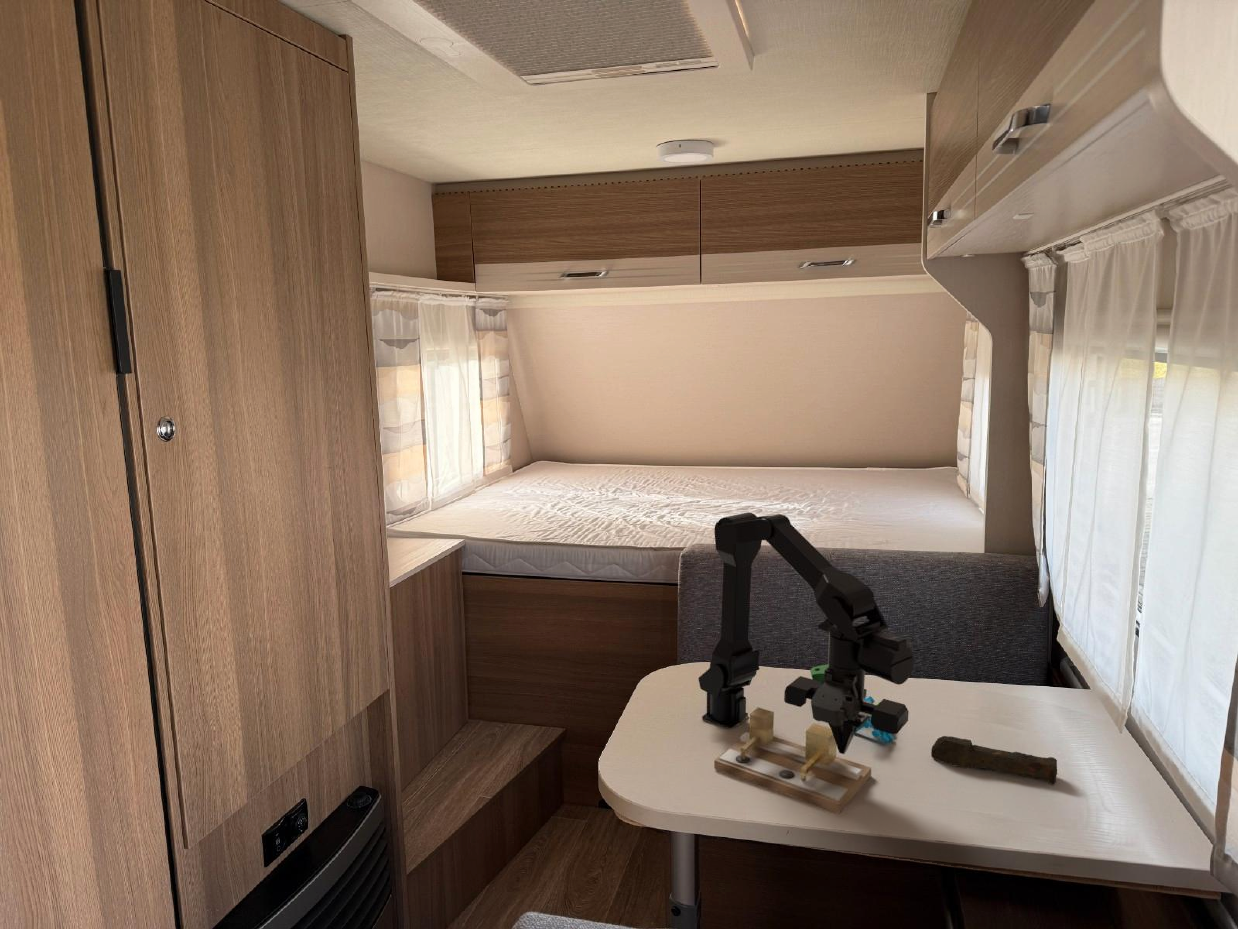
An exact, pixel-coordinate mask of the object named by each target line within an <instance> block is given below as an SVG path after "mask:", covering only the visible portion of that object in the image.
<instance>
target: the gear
mask: <svg viewBox="0 0 1238 929" xmlns="http://www.w3.org/2000/svg"><path fill="white" fill-rule="evenodd" d="M864 700H865V701H869V702H871V703H872V704H875V700H874V698H873V697H872V696H871V695H870V696H868V697H867V695H866V696H865V697H864ZM880 702H881V701H880ZM880 702H877V703H876V704H875V705H878V704H879V703H880ZM863 728H865V729H868V728H872V730H873V731H871V735H872V736H873V737H874V738H875V739H879V738H880V741H881V742H882V743H884V744H888V743H890V742H892V741H894V739H895V738H894V735H893V734H890V733H886V732H883V731H879V730H876V729H875V728H874V727H873V725H872V724H871V717H870V718H869V719H868V720H867V721H866V723H865V724H864V725H863V726H862V727H860V728H857V730H856V732H855V734H856V733H858V732H859V731H860V730H861V729H863Z"/></svg>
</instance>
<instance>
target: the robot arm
mask: <svg viewBox="0 0 1238 929" xmlns="http://www.w3.org/2000/svg"><path fill="white" fill-rule="evenodd" d="M715 522H716V521H715ZM713 531H714V543H715V550H716V552H717V554H718V555H719V557H720V559H721V562H723V563H722V564H723V570H722V571H723V572H722V573H723V576H722V593H721V594H722V596H721V601H722V602H721V621H720V637H719V640H718V641H717V643H716V644H715V647H714V648H713V650H712V653H711V657H710V663H709V668H708V669H707V670H706V671H705V672H704V673H702V674H701V675H700V676H699V677H698V682H699V688H700V690H702V691H704V692H706V713H704V714H703V715H702V716H701V719H702V720H703V721H706V722H709V723H713V724H715V725H718V726H721V727H725V728H728V729H733V728H735V727H736V726H737V725H739V724H740V723H741V722H742V721H743V720H745V719H746V718H747V717H748V716H749V714H748V712H747V699H746V698H747V697H746V696H745V688H744V687H747V686H751V683H752V680H753V679H754V677H755V676H756V675H757V671H759V670H760V665H759V664H760V663H759V658H760V650H759V649H758V648H754V647H753V645H752V643H751V641H750V639H749V628H750V624H749V623H750V603H751V584H752V583H751V581H752V564H753V562H754V560H756V559H755V558H756V557H757V556H758V554H759V552H760V550H761V547H762V542H763V541H766V542H767V543H768V544H769V545H770V546H771V547H772V548H773V550H775V551H776V552H777V554H778V555H780V557H781V558H782V559H783V560H784V561H785V562H786V563H788V564H789V566H790V567H791V569H793V570H794V571H795V573H797V574H798V575H799V576H800V577H801V578H802V579H803V581H805V583H807V584H808V586H809V588H811V590H812V591H813V594H814V595H813V596H814V599H815V603H816V604H817V606H818V607H819V609H820V610H821V611H822V613H823V615H824V616H825V617H826V619H824V621H822V622H820V623H819V624H818V625H817V628H818V629H819V630H821V631H824V632H827V633H829V634H828V652H827V653H828V654H827V664H828V668H827V669H826V670H825V674H824V679H823V682H822V684H820V682H819V681H817V680H813V679H812V678H810V677H809V678H808V677H805V676H801V675H800V676H798V677H796V678H795V679H794V680H793V681H792V682H790V683H789V684H788V685H787V686H786V687H785V688H784V691H783V692H784V695H783V696H784V698H783V700H784V703H786V704H788V705H792V706H794V707H795V706H796V707H799V708H801V707H803V706H804V705H805V704H807V699H808V700H810V706H811V714H812V718H813V719H814V720H815V721H817V722H823V723H826V724H828V727H829V728H831V730H832V733H833V736H834V739H835V742H836V745H837V746H836V749H838V753H839V754H842V755H845V754H846V753H847V751H848V749H849V746H850V744H851V742H852V740H853V739H854V737H855V734H856V733H857V732H856V730H857V728H860V727H862V726H863V725H864V724H865V723H866V721H867V720H868V719H869V718H870V717H871V724H872V725H873V727H874V728H875V729H876V730H879V731H883V732H886V733H890V734H892V735H898V733H899V732H900V731H901V730H902V729H903V727H904V726H905V725H906V724H907V723H908V722H909V710H908V708H907V706H906V704H904V703H901V702H897V701H893V700H889V699H885V698H883V699H881V701H880V703H879V702H878V703H879V704H878V705H876V704H875V703H873V704H872V703H871V702H869V701H865V700H864V697H865V696H866V697H867V689H865V680H866V679H865V676H866V674H867V673H868V674H870V675H873V676H874V677H875V676H876V677H878V678H880V679H882V680H885V681H888V682H891V683H893V684H895V685H902V684H904V683H905V682H907V681H908V679H909V678H910V676H912V672H913V670H914V667H915V657H914V655H913V652H912V650H911V648H909V647H908V646H907V643H908V641H907V639H906V638H904V637H902V636H895V635H892V634H889V633H886V632H885V631H887V630H888V629H889V626H888V624H887V622H886V620H885V618H884V617H885V616H883V614H882V611H881V610H880V608H879V606H878V604H877V602H876V600H875V594H874V593H873V591H872V590H871V588H870V587H869V586H868V585H867V584H865V583H864V582H863V581H861V580H860V579H858V578H857V577H855V576H854V575H852V574H850V573H847V572H844V571H842V570H840V569H839V568H837V567H835V566H834V565H833V564H832V563H831V562H830V561H829V560H827V558H826V557H825V556H823V555H822V554H821V552H819V550H818V549H816V547H815V546H814V545H813V544H812V543H810V542H809V541H808V540H807V539H806V538H805V537H804V535H802V534H801V532H799V530H797V529H796V527H795V526H794V525H792V523H791V521H790V518H789V517H788V516H786V515H783V514H780V513H778V514H773V515H764V516H763V515H762V516H757V515H756V514H755V513H753V512H749V511H748V512H747V511H746V512H744V513H739V514H734V515H729V516H724V517H721V518H720V519H719V520H718V521H717V522H716V523H715V525H714V530H713ZM864 619H867V620H868V621H865V622H863V623H860V624H857V625H855V624H853V623H855V622H858V621H861V620H864ZM855 732H856V733H855Z"/></svg>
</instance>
